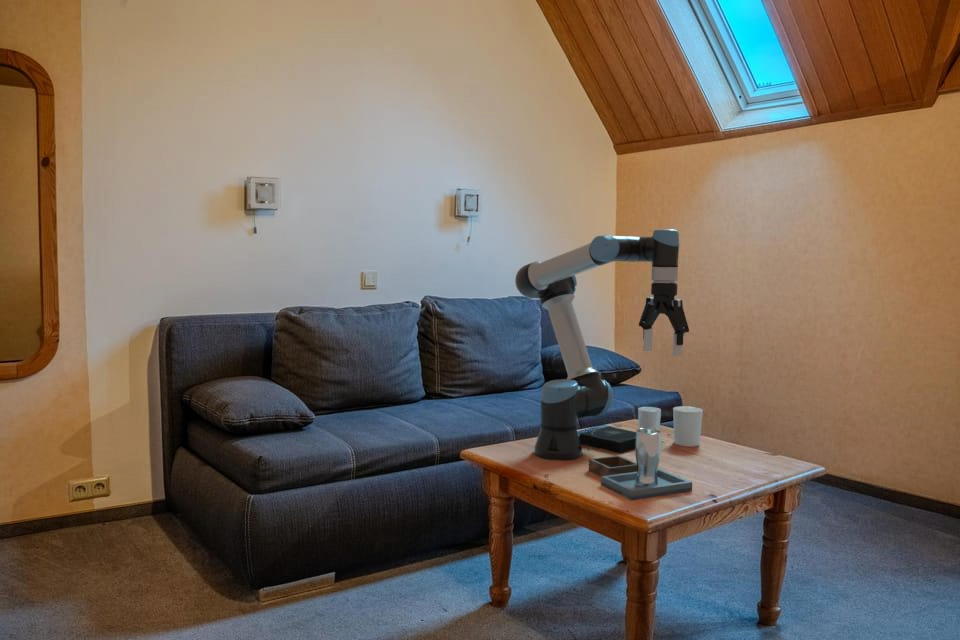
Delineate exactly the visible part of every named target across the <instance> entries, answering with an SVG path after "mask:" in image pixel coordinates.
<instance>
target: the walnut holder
mask: <svg viewBox="0 0 960 640" xmlns="http://www.w3.org/2000/svg"><path fill="white" fill-rule="evenodd" d="M588 471H589V472H591V473H592V474H595V475H597V476H599V477H601V476H608V475H615V474H623V473H630V472H637V462H636V461H633V460H630V459H628V458H626V457H624V456H621V455H612V456H606V457H605V456H604V457H594V458H589V459H588Z"/></svg>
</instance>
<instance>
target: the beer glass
mask: <svg viewBox="0 0 960 640" xmlns="http://www.w3.org/2000/svg"><path fill="white" fill-rule="evenodd" d="M635 432H636V440H635V449H634V451H635V459H636V460H635V462H636V463H637V478H636V485H637V486H640V487H651V486H658V479H657V469H659V463H660V459H661V454H662V431H661V430H660V429H659V430H656V429H650V428H641V429H639V428H638V429H636V431H635Z"/></svg>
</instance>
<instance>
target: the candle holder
mask: <svg viewBox="0 0 960 640" xmlns="http://www.w3.org/2000/svg"><path fill="white" fill-rule="evenodd" d="M672 411H673V412H672V413H673V416H672V417H673V442H674V444H675V445H677V446H681V447H688V448H690V447H691V448H692V447H698V446H699V445H700V444H701V443H700V442H701V434H702V433H701V432H702V420H703V412H704V410H703V409H702V408H700V407H695V406H685V405H684V406H683V405H682V406H674V407H672Z"/></svg>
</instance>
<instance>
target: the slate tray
mask: <svg viewBox="0 0 960 640" xmlns="http://www.w3.org/2000/svg"><path fill="white" fill-rule="evenodd" d="M600 477H601V479H600V480H601V481H600V485H601V487H603V488H606V489H607V490H610V491H611V492H614V493H616V494H618V495H619V496H622V497H624V498H626V499H627V500H630V501H635V500H644V499H649V498H655V497H656V498H657V497H662V496H671V495H675V494H676V495H677V494H682V493H690V492H693V481H690V480H688V479H685V478H683V477H681V476H679V475H676V474H673V473H671V472H668V471H665V470H664V469H662V468H658V469H657V479H658V486H651V487H640V486H637V485H636V478H637V472H630V473H623V474H615V475H608V476H600Z"/></svg>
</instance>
